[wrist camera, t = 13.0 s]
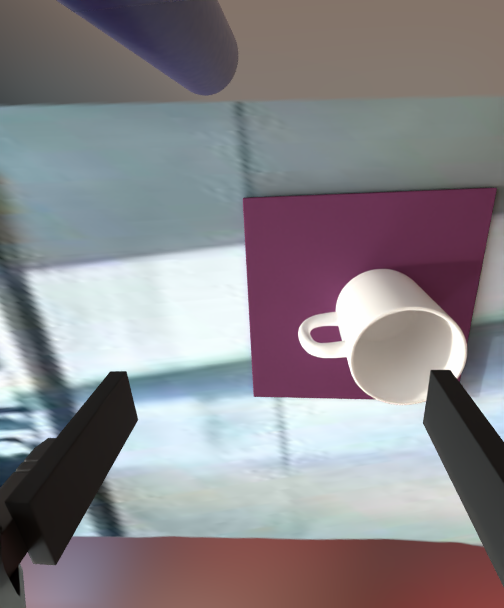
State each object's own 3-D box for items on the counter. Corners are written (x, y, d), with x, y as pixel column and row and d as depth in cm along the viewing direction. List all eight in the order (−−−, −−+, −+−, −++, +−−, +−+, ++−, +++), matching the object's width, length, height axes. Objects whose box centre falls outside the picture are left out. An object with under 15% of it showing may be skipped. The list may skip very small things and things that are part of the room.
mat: (243, 197, 34) (242, 198, 33) (493, 187, 31) (497, 187, 31) (254, 393, 42) (253, 396, 41) (453, 398, 39) (456, 401, 39)
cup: (418, 341, 37) (462, 403, 27) (300, 347, 38) (302, 408, 29) (423, 262, 34) (473, 302, 24) (294, 273, 35) (295, 314, 26)
